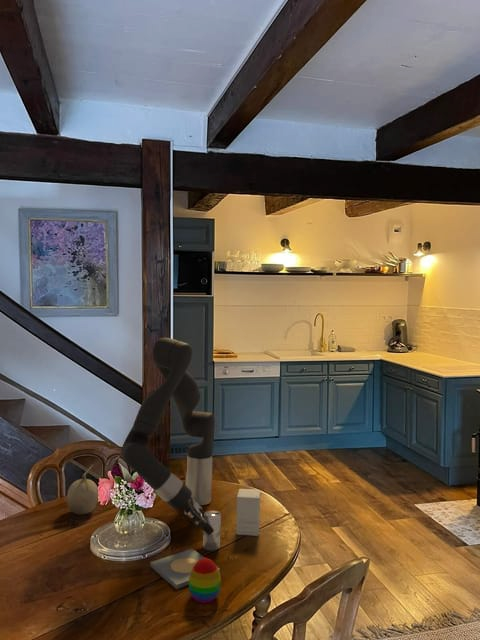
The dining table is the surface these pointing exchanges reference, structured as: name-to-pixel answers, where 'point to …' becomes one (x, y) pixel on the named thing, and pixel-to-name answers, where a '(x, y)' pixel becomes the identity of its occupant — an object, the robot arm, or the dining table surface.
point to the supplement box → (248, 512)
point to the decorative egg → (204, 581)
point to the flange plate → (177, 567)
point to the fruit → (82, 495)
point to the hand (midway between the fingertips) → (209, 526)
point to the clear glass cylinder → (214, 538)
